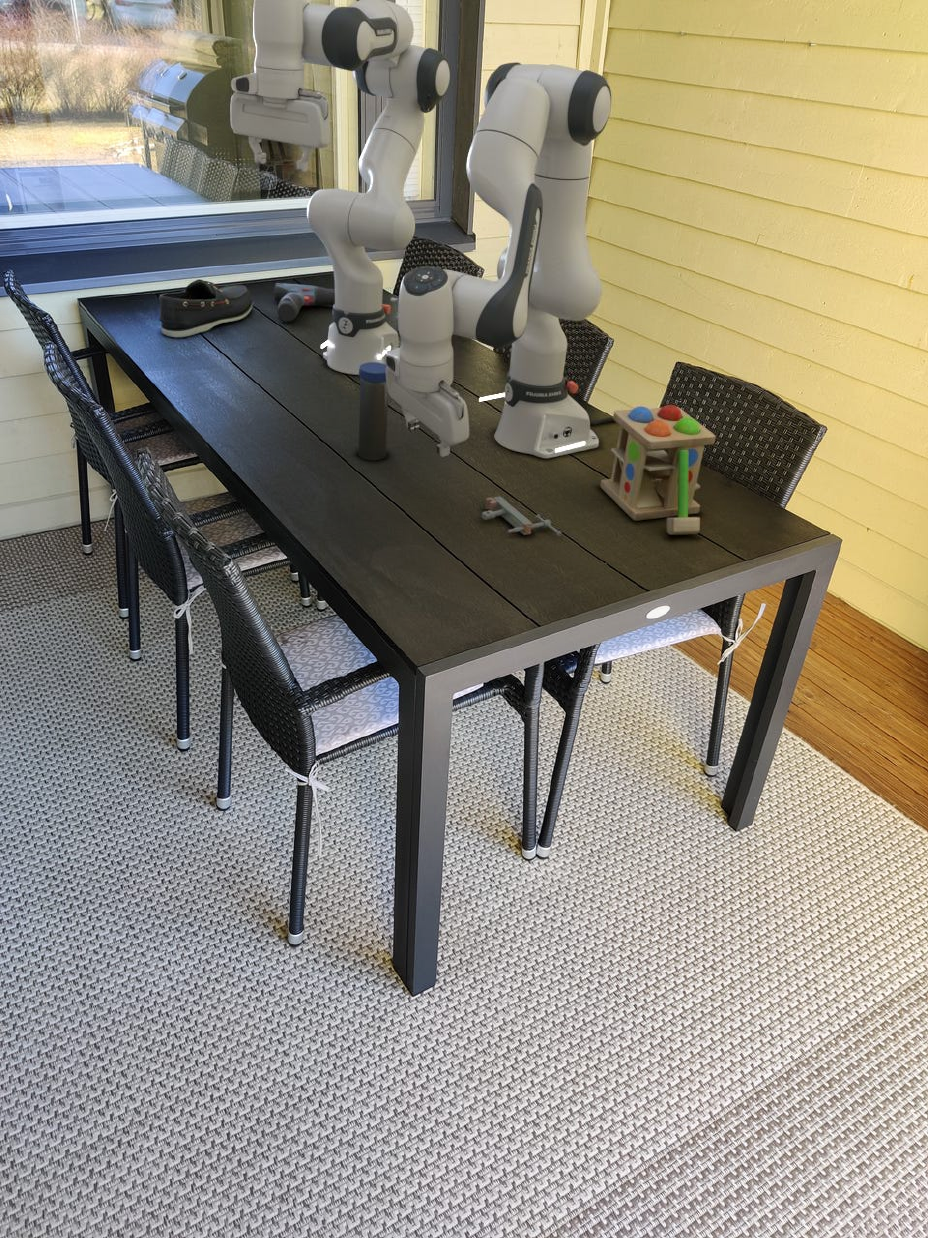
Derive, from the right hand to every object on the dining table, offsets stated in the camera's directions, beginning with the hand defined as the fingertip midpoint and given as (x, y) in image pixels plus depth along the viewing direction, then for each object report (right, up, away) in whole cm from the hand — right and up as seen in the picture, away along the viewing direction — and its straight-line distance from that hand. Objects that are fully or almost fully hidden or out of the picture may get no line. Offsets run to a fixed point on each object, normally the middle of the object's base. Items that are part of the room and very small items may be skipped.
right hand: (427, 441), depth 170 cm
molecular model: (-8, +50, +97) cm, 110 cm away
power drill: (-37, +52, +97) cm, 116 cm away
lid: (-11, +17, +16) cm, 26 cm away
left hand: (-29, +55, +17) cm, 65 cm away
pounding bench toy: (+44, -10, +16) cm, 48 cm away
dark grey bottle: (-12, +2, +26) cm, 29 cm away
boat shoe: (-60, +47, +85) cm, 114 cm away
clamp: (+16, -14, +7) cm, 22 cm away
